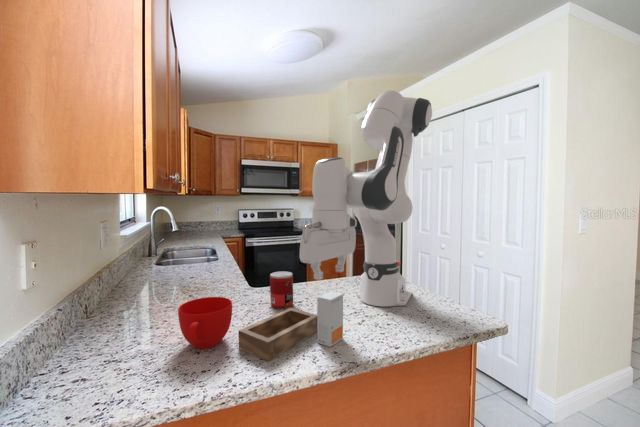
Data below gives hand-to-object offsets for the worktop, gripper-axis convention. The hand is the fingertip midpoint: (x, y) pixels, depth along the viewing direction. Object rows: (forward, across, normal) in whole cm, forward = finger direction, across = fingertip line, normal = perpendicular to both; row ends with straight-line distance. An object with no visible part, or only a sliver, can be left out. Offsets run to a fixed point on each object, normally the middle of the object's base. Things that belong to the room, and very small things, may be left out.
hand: (329, 275), depth 77 cm
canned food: (+17, +12, +29) cm, 36 cm away
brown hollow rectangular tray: (+17, -6, +11) cm, 22 cm away
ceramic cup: (+18, -20, +24) cm, 36 cm away
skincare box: (+18, 0, 0) cm, 18 cm away
